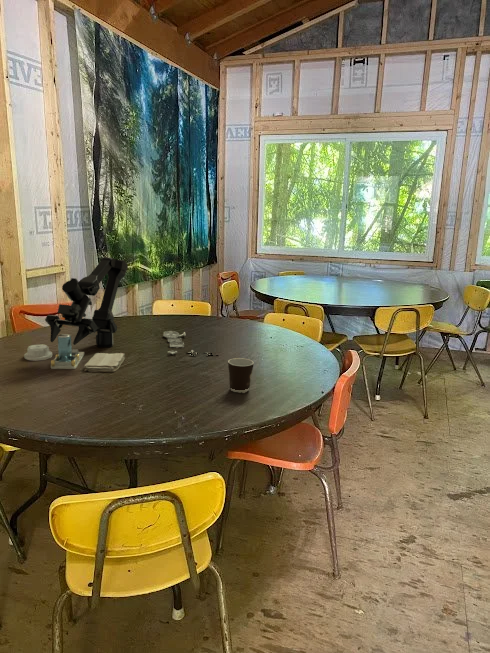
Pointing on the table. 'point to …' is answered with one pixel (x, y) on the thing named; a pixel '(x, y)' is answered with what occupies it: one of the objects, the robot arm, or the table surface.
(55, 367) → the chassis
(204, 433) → the table surface
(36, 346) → the mechanical component
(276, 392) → the table surface
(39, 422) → the table surface
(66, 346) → the cylinder
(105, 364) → the washcloth
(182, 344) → the drone parts
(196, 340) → the table surface
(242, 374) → the dark brown cup
